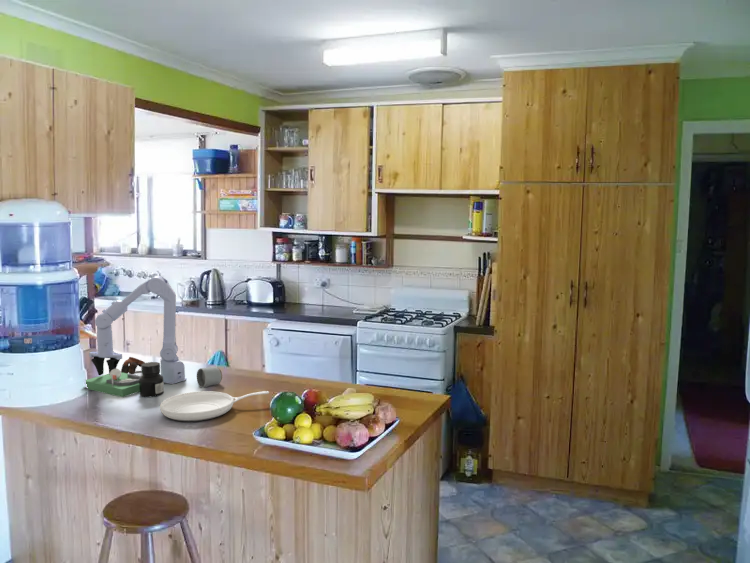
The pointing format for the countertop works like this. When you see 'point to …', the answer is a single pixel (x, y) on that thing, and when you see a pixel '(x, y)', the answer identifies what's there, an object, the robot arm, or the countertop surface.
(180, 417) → the pan
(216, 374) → the ceramic mug
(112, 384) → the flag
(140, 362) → the pottery mug
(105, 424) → the countertop surface
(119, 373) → the ball
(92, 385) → the mat
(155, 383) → the ink bottle
